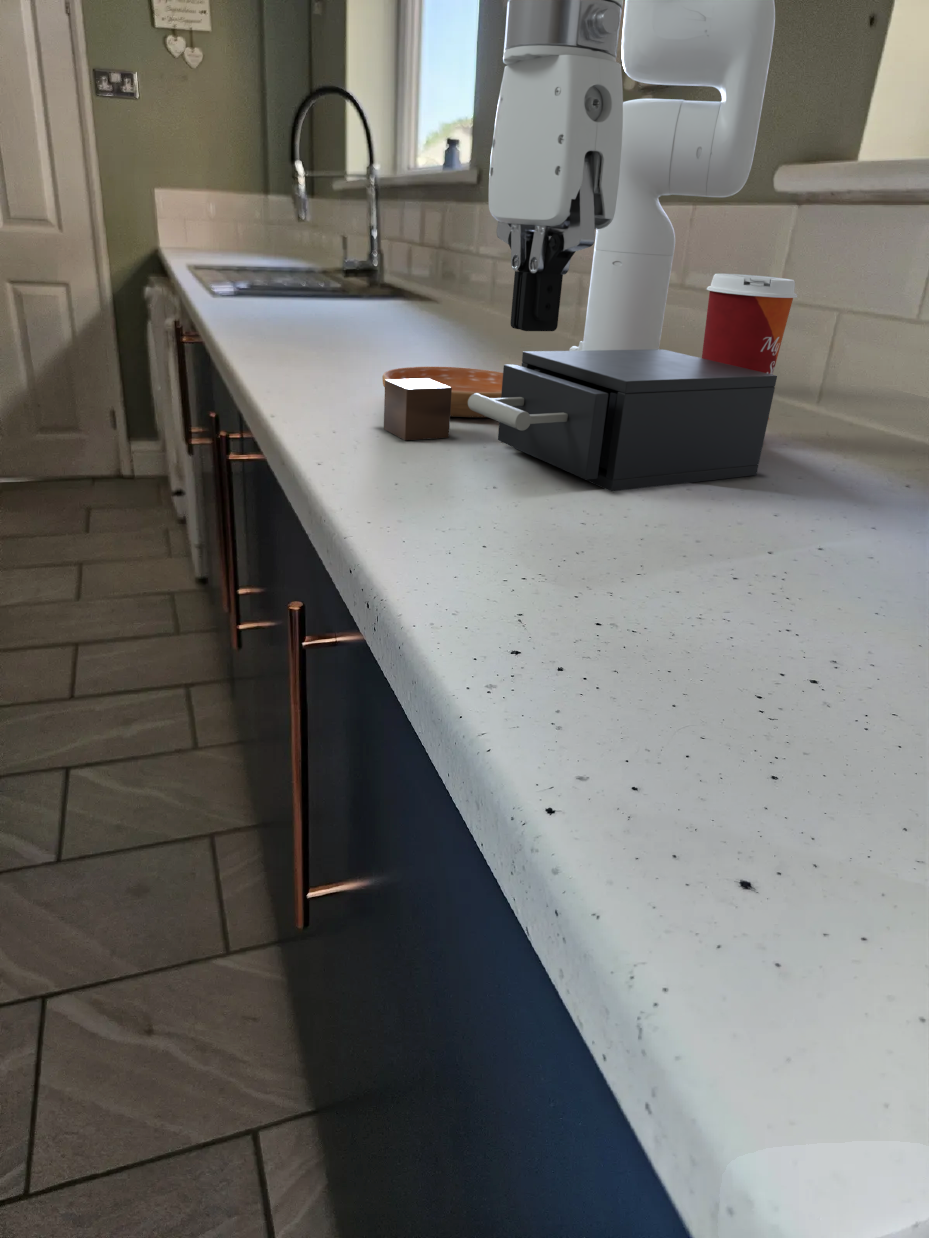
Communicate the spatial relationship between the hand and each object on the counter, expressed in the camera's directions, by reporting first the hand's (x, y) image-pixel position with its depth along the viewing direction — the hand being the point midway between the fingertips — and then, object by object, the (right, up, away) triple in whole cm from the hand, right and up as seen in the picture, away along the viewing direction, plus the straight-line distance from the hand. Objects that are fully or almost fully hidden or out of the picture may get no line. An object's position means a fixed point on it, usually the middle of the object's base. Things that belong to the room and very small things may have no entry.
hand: (533, 329), depth 65 cm
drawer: (+5, -8, +7) cm, 12 cm away
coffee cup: (+21, -4, +22) cm, 30 cm away
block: (-10, -5, +14) cm, 18 cm away
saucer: (-6, +1, +27) cm, 28 cm away
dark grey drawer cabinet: (+9, -8, +10) cm, 16 cm away
